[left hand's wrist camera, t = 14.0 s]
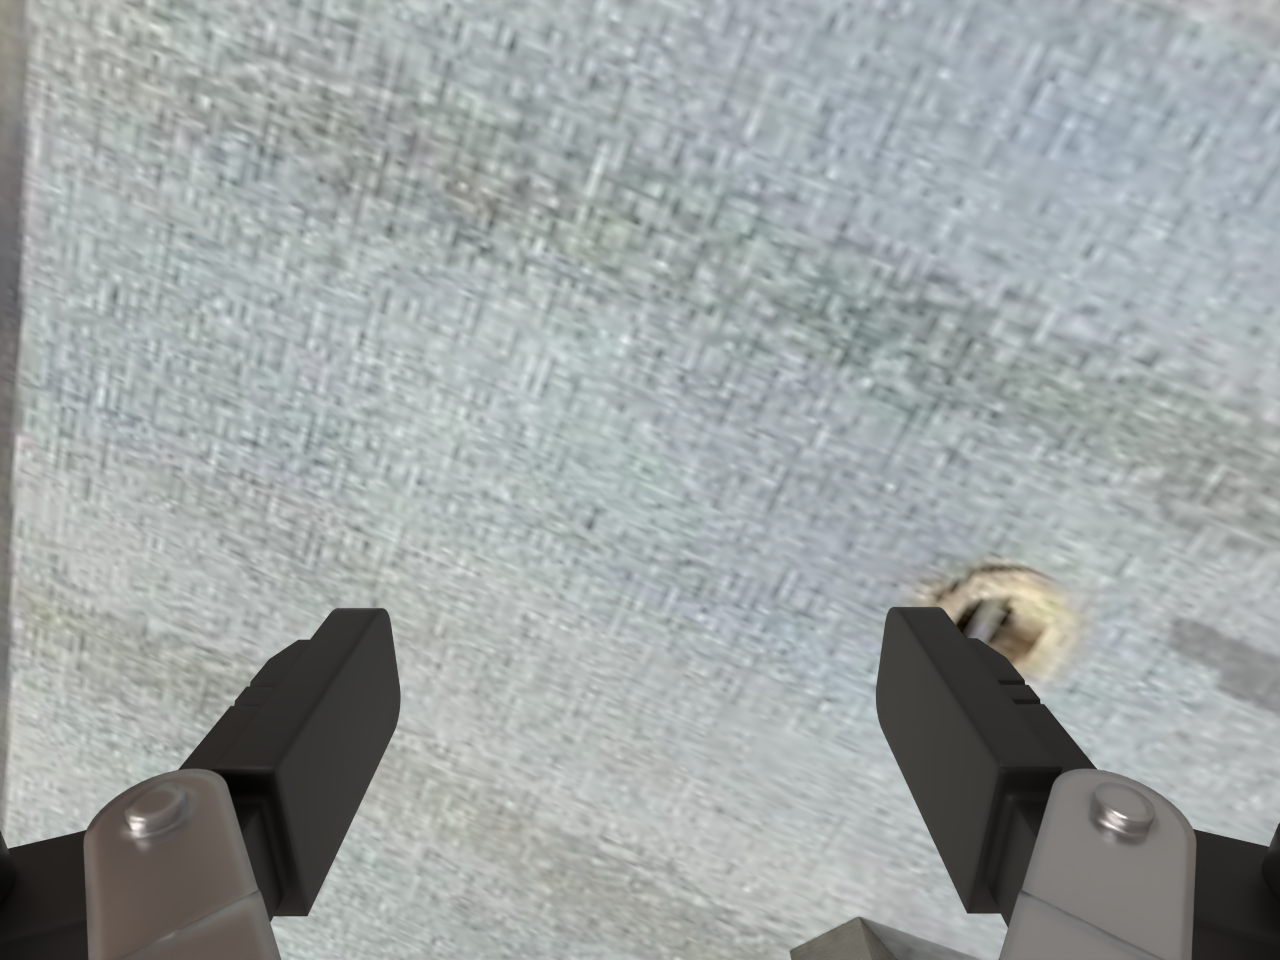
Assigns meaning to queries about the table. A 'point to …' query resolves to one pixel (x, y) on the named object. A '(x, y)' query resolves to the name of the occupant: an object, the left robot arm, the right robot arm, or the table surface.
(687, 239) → the table surface
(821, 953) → the bar
